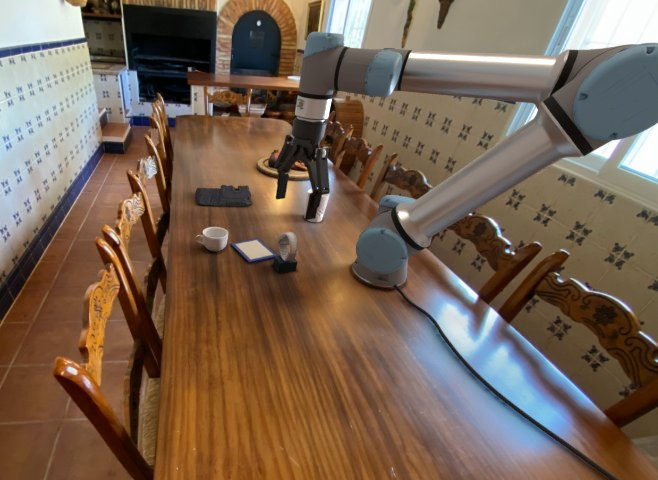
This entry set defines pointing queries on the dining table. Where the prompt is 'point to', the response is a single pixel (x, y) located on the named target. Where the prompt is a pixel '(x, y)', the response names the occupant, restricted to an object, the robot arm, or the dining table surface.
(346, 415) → the dining table surface
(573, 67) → the robot arm
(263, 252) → the coaster
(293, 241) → the watch
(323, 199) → the white cup
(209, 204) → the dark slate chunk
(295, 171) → the wooden plate
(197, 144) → the dining table surface
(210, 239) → the teacup
